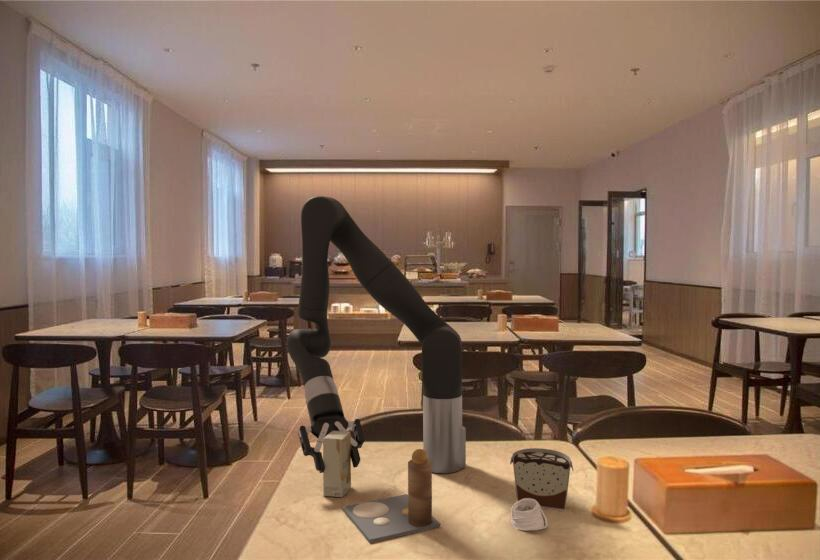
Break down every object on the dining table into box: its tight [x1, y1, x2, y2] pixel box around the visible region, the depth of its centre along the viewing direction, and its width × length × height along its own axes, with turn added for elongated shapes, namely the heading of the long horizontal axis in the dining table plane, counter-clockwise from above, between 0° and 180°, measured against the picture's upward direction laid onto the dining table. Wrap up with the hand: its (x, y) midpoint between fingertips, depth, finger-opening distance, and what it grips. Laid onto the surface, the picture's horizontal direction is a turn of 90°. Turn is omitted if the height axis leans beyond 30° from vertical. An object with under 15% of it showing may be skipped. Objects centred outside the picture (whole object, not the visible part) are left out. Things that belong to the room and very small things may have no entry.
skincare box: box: [322, 430, 352, 498], centre depth 122 cm, size 6×4×12 cm
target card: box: [341, 493, 442, 544], centre depth 110 cm, size 14×15×1 cm
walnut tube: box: [407, 448, 433, 527], centre depth 107 cm, size 4×4×14 cm
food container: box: [509, 447, 574, 511], centre depth 117 cm, size 12×6×10 cm, turn 71°
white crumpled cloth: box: [510, 498, 549, 532], centre depth 107 cm, size 8×7×5 cm
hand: (339, 468), depth 121 cm, fingers closed on skincare box, 7 cm apart
